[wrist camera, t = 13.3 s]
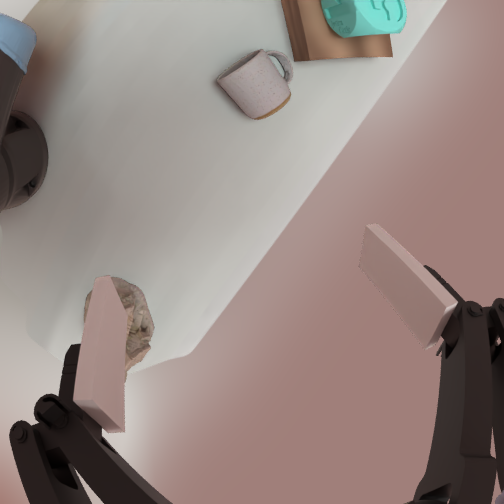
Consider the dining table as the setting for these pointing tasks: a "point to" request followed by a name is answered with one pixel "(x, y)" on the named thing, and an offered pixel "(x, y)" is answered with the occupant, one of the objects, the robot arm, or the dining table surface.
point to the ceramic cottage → (132, 321)
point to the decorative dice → (365, 16)
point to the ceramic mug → (258, 83)
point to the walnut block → (326, 35)
